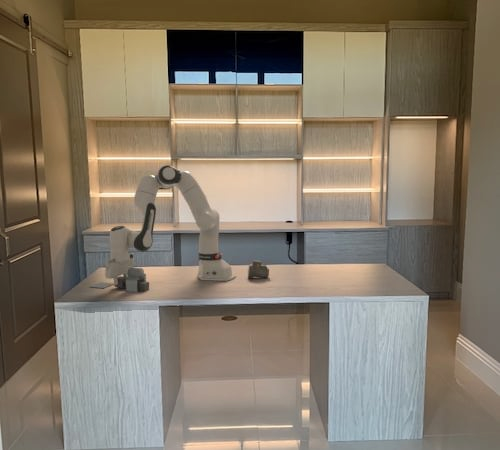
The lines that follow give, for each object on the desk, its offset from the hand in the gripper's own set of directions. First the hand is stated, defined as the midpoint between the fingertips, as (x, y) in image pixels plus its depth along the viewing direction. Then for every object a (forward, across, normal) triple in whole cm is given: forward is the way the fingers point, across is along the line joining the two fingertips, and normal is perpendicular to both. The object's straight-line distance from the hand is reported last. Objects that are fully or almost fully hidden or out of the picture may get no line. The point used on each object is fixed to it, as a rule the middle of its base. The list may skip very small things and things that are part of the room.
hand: (120, 282), depth 234 cm
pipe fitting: (+3, +43, -62) cm, 75 cm away
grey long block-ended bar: (+2, 0, -6) cm, 7 cm away
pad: (+3, 0, +12) cm, 12 cm away
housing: (+3, 0, -10) cm, 10 cm away
